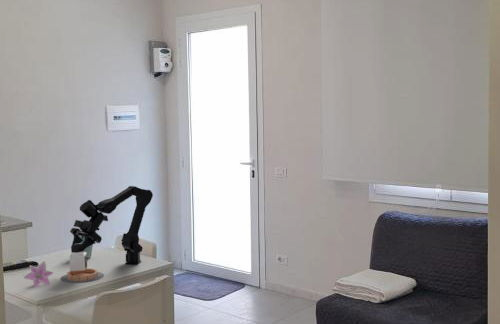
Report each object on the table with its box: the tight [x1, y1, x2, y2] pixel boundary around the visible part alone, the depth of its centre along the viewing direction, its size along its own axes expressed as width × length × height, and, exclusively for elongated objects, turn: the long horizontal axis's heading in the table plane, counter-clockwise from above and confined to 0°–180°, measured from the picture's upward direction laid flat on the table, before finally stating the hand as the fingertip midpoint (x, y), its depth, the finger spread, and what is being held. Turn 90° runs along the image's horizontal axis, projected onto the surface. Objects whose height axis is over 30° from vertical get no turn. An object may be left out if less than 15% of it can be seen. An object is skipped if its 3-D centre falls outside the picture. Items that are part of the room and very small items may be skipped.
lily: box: [23, 260, 54, 288], centre depth 270 cm, size 12×12×10 cm
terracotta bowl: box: [66, 267, 99, 281], centre depth 281 cm, size 14×14×2 cm
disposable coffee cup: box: [80, 230, 94, 260], centre depth 320 cm, size 11×11×15 cm
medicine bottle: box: [69, 243, 88, 271], centre depth 282 cm, size 7×7×12 cm
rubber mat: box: [59, 271, 105, 284], centre depth 281 cm, size 20×20×1 cm
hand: (75, 249), depth 281 cm, fingers closed on medicine bottle, 6 cm apart
